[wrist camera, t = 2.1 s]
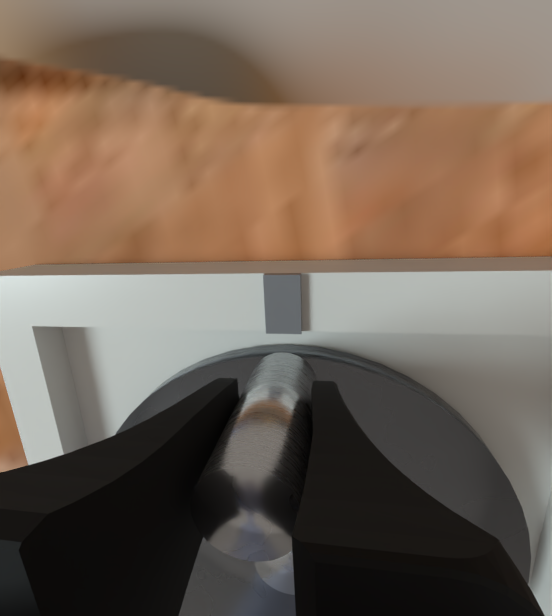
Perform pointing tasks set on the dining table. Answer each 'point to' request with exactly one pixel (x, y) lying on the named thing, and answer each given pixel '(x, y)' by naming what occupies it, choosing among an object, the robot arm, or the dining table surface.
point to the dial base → (291, 331)
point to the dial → (294, 462)
